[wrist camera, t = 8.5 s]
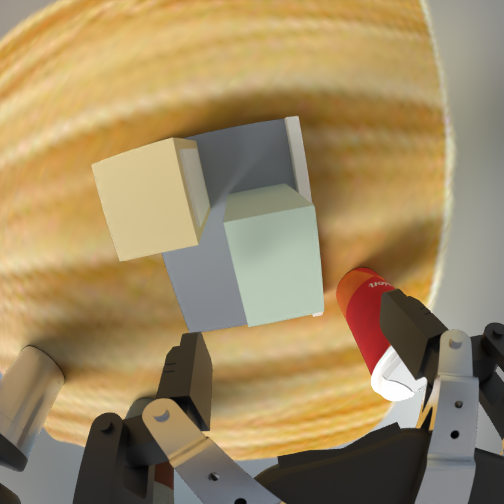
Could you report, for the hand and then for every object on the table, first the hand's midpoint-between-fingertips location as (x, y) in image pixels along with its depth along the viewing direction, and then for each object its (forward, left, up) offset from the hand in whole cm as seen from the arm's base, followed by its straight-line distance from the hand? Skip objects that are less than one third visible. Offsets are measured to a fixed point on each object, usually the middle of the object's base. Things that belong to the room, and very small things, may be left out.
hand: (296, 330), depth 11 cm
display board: (-3, 0, -16) cm, 16 cm away
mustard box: (-7, +6, -14) cm, 17 cm away
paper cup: (+10, -10, -16) cm, 21 cm away
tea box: (0, 0, -14) cm, 14 cm away
